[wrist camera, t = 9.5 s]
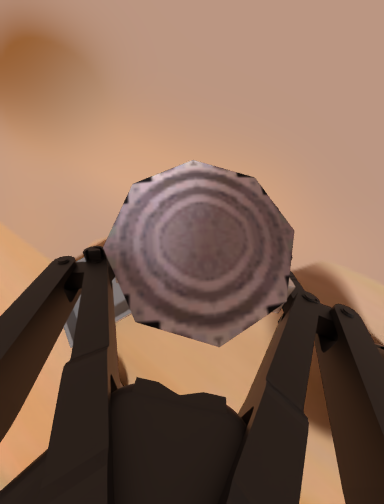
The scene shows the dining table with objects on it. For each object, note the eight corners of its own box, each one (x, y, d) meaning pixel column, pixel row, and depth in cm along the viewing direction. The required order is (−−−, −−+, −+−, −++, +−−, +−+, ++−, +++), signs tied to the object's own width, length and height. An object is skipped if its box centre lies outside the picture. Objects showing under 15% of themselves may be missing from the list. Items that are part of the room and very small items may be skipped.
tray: (148, 303, 35) (144, 305, 32) (83, 341, 34) (70, 347, 30) (121, 245, 39) (114, 241, 36) (60, 277, 37) (46, 276, 34)
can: (169, 221, 22) (139, 145, 10) (246, 235, 21) (307, 169, 10) (148, 300, 19) (78, 317, 8) (235, 319, 19) (302, 370, 7)
